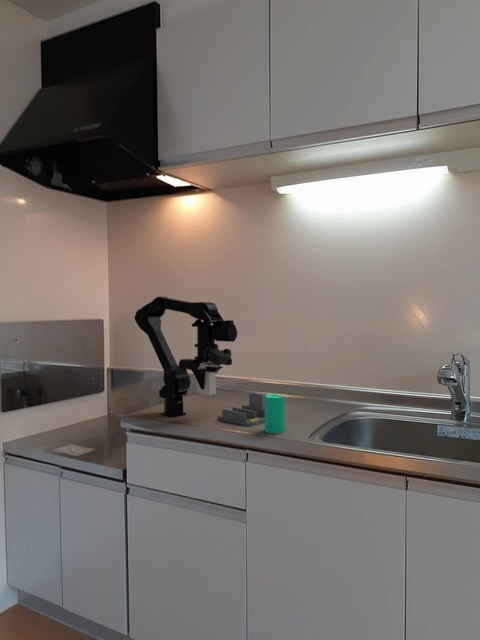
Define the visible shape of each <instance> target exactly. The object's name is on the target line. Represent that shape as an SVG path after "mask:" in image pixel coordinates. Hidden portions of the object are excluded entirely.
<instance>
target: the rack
mask: <svg viewBox="0 0 480 640" xmlns="http://www.w3.org/2000/svg"><path fill="white" fill-rule="evenodd" d="M267 394H269V393H267V392H261V391H249V393H248V405H245V404H242V405H241V407H235V406H233V407H232V410H230V409H225V408H224V409H223V408H222V410H221V411H222V413H221V414H222V415H217V420H219V421H223V422H228V423H232V424H237V425H240V426H246V427H253V426H257V425H260V424H261V425H262V424H265V395H267Z"/></svg>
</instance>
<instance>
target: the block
mask: <svg viewBox="0 0 480 640" xmlns="http://www.w3.org/2000/svg"><path fill="white" fill-rule="evenodd" d="M216 377H217V373H216V372H208V371H206V372H205V386H204V389H201V388H200V385H199V383H198V381H197V380H196V393H197V394H201V395H206V396H213V395H217V389H216V387H217V385H216V384H217V381H216V380H217V378H216Z"/></svg>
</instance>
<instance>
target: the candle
mask: <svg viewBox="0 0 480 640" xmlns="http://www.w3.org/2000/svg"><path fill="white" fill-rule="evenodd" d="M285 423H286V396H285V395H282V394H278V393H277V394H276V393H268V394H267V395H265V423H264V432H266V433H268V434H283V433H285V432H286V424H285Z"/></svg>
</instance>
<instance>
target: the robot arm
mask: <svg viewBox="0 0 480 640" xmlns="http://www.w3.org/2000/svg"><path fill="white" fill-rule="evenodd" d="M167 310H168V311H174V312H178V313H183V314H187V315H189V316H190V317H192V318H194V319H196V320H195V321H194V322H193V323H191V327H197V328H196V329H197V332H196V336H197V338H196V339H197V340H196V343H194V347H195V348H197V351H196V352H197V353H196V354H197V355H195V356H194V358H181V359H180V360H179V361H178V363H177V361H176V359H175V357H174V354H173V353H172V350H171V348H170V346H169V345H168V341H167V340H166V337H165V336H164V333H163V332H162V329H161V327H162V319H161V317H163V316H164V315H165V312H166V311H167ZM134 320H135V323H136V324H137V326H138V327H139V329H140V330H141V331H142V332H144V333H145V334H146V335H147V337H148V339H149V342H150V344H151V345H152V348H153V349H154V352H155V355H156V356H157V359H158V361H159V364H160V365H161V367H162V369H163V382H164V385H163V386H162V387H161V388H160V389H159V391H158V394H159V397H160V398H162V399H163V402H164V403H163V405H164V406H163V409H164V410H163V411H162V412H160V415H163V416H167V417H169V418H170V417H171V418H173V417H177V416H183V415H187V412H186V411H184V396H187V393H188V390H189V389H190V386H191V384H192V383H191V382H192V381H191V376H190V374H189V372H188V370H190V371H192V373H193V375H194V378H196V382H197V381H198V383H199V385H200V388H201V389H204V386H205V372H206V371H208V372H216V374H217V373H218V372H219V371H220V370H221V369H223V368H224V367H223V366H231V365H233V359H232V350H231V349H229V348H224V349H220V348H219V344H218V343H216V342H225V343H226V342H231V343H233V342H235V341H236V340H237V338H238V337H237V336H238V330H237V329H238V328H237V326H236V325H235V324H234V323H235V322H234V320H233V319H227V320H224V318H223V316H222V315H221V313H220V312H219V309H218V306H217V304H216V303H215V302H210V301H207V302H206V301H204V302H203V301H201V302H200V301H199V302H198V301H196V302H195V301H193V302H192V301H187V300H180V299H175V298H170V297H168V296H156V297H155V298H154V299H152V301H150V302H148V303H146V304H145V305H143V306H142V307H141V308H139V309H138V310H137V311H136V312H135V315H134ZM222 365H223V366H222Z"/></svg>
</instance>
